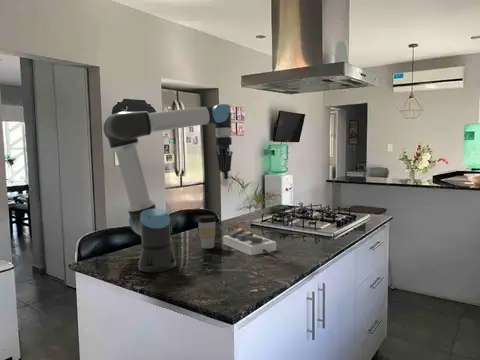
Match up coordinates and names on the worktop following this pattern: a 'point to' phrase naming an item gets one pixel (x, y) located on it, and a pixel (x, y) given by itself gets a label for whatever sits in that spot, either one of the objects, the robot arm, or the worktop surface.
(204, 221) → the coffee cup
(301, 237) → the worktop surface
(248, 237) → the rocker
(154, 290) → the worktop surface
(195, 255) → the worktop surface
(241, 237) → the rocker
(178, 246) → the worktop surface
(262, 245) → the power strip
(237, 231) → the rocker
